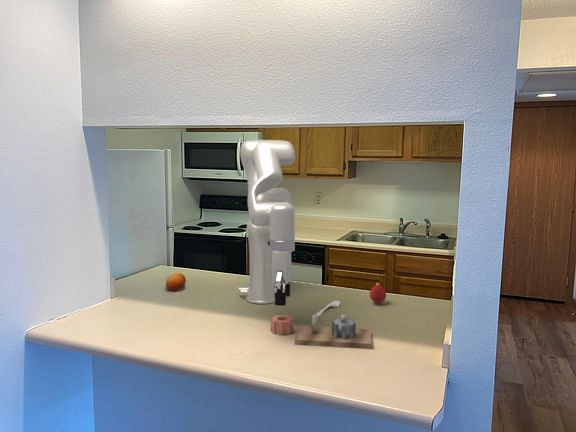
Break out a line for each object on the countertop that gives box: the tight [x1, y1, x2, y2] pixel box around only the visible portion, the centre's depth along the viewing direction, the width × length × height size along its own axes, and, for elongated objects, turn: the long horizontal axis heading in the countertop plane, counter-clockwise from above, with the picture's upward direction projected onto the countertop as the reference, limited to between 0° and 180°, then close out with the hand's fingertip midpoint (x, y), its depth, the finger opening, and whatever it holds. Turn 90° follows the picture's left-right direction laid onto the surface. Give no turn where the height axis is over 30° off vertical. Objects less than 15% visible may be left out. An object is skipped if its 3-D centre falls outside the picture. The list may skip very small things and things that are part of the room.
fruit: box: [165, 272, 187, 292], centre depth 183 cm, size 8×8×8 cm
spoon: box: [314, 300, 341, 317], centre depth 159 cm, size 4×21×2 cm, turn 146°
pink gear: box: [270, 314, 294, 336], centre depth 140 cm, size 7×7×4 cm
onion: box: [369, 282, 387, 305], centre depth 165 cm, size 6×6×8 cm
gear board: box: [293, 313, 373, 350], centre depth 134 cm, size 22×11×8 cm, turn 82°
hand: (282, 300), depth 138 cm, fingers open, 9 cm apart
